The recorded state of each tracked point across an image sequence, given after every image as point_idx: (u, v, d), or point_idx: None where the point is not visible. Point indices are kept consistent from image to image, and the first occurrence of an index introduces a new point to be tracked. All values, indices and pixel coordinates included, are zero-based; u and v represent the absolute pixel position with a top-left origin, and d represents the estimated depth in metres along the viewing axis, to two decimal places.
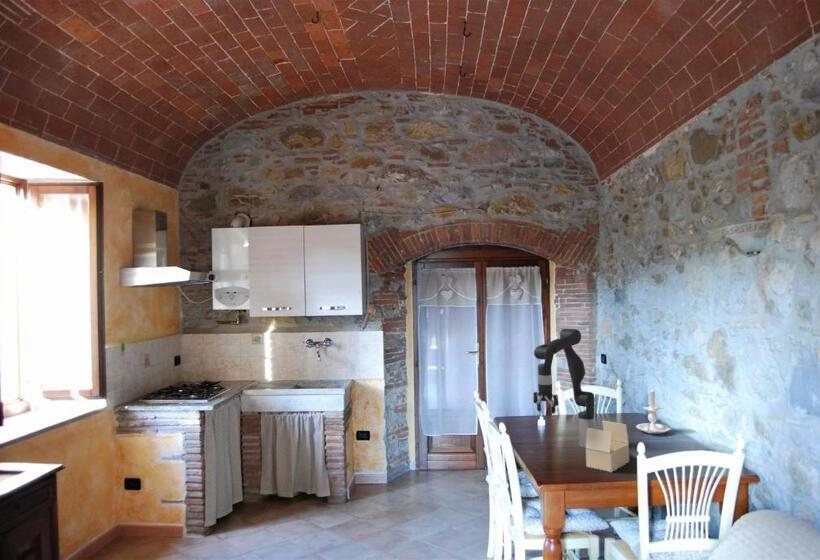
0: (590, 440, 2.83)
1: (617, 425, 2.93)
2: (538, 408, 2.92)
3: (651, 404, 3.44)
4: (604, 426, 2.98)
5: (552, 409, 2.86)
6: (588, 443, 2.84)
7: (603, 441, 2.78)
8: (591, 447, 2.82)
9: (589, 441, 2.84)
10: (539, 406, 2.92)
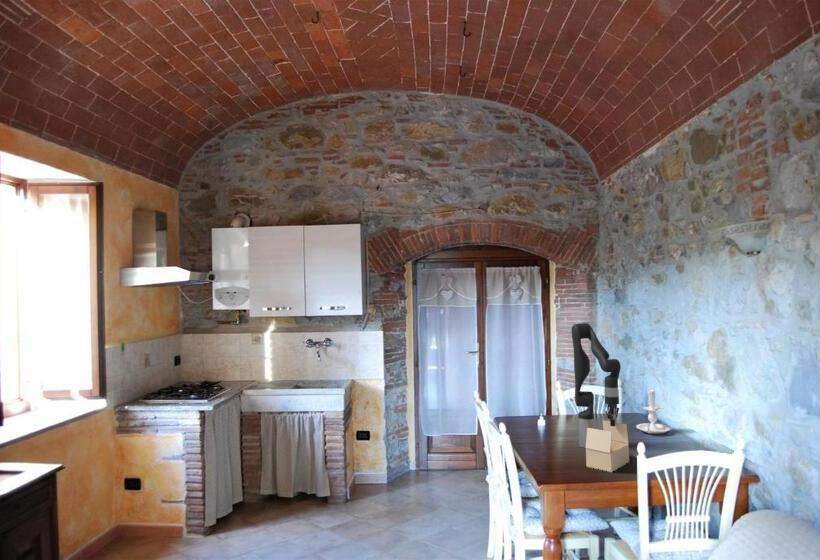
0: (590, 440, 2.83)
1: (617, 425, 2.93)
2: (614, 423, 2.92)
3: (651, 404, 3.44)
4: (604, 426, 2.98)
5: (614, 421, 2.93)
6: (588, 443, 2.84)
7: (603, 441, 2.78)
8: (591, 447, 2.82)
9: (589, 441, 2.84)
10: None
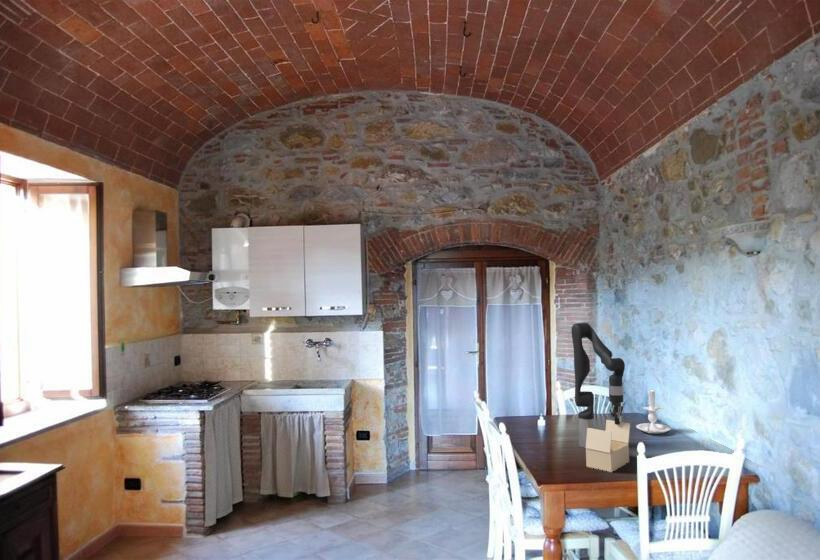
0: (590, 440, 2.83)
1: (621, 424, 2.96)
2: (618, 421, 2.96)
3: (651, 404, 3.44)
4: (607, 425, 3.01)
5: None
6: (588, 443, 2.84)
7: (603, 441, 2.78)
8: (591, 447, 2.82)
9: (589, 441, 2.84)
10: None
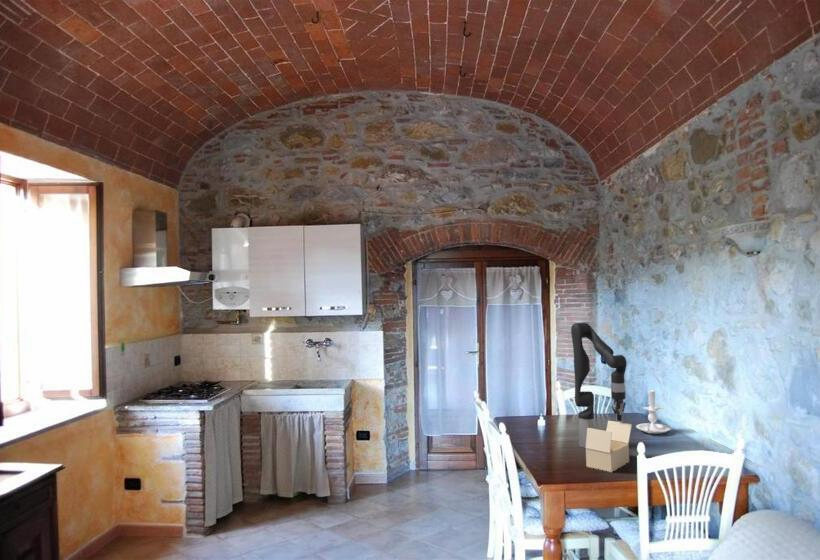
0: (590, 440, 2.83)
1: (622, 425, 2.97)
2: (621, 418, 2.98)
3: (651, 404, 3.44)
4: (609, 426, 3.02)
5: (621, 416, 2.98)
6: (588, 443, 2.84)
7: (603, 441, 2.78)
8: (591, 447, 2.82)
9: (589, 441, 2.84)
10: None
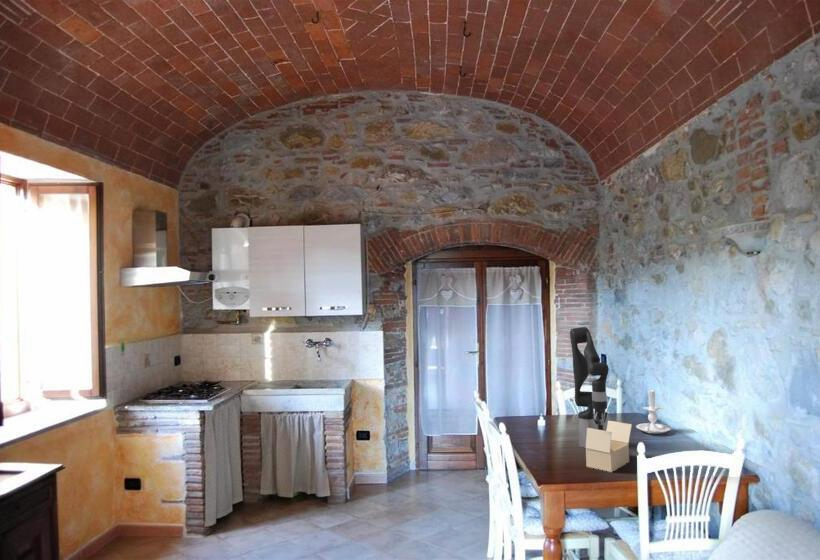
0: (590, 440, 2.83)
1: (622, 425, 2.97)
2: (602, 428, 2.82)
3: (651, 404, 3.44)
4: (609, 426, 3.02)
5: (602, 427, 2.82)
6: (588, 443, 2.84)
7: (603, 441, 2.78)
8: (591, 447, 2.82)
9: (589, 441, 2.84)
10: None
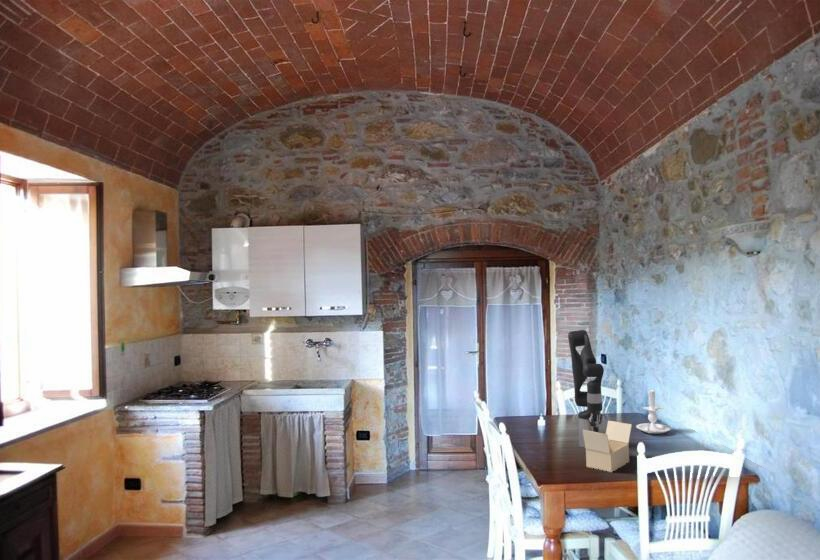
0: (589, 441, 2.82)
1: (622, 425, 2.97)
2: (597, 430, 2.78)
3: (651, 404, 3.44)
4: (609, 426, 3.02)
5: (598, 429, 2.79)
6: (587, 444, 2.83)
7: (600, 443, 2.77)
8: (591, 448, 2.82)
9: (587, 442, 2.82)
10: None
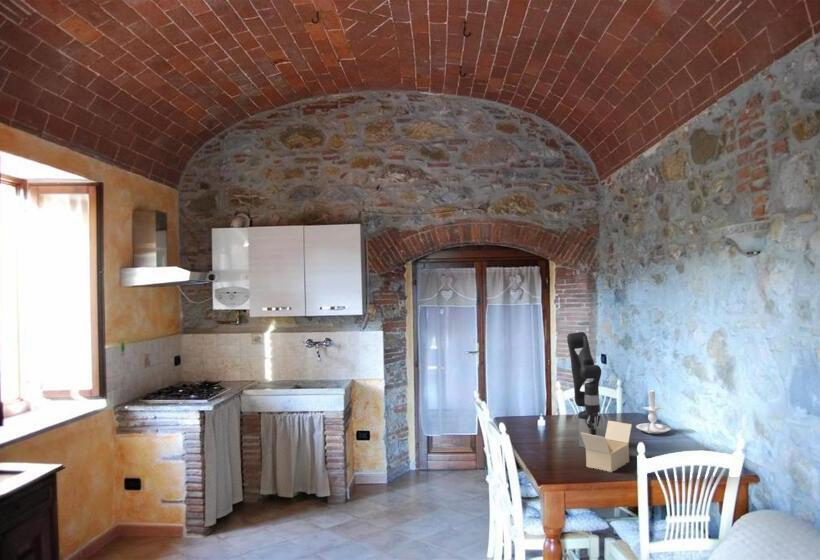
0: (588, 443, 2.81)
1: (622, 425, 2.97)
2: (595, 432, 2.76)
3: (651, 404, 3.44)
4: (609, 426, 3.02)
5: (595, 431, 2.77)
6: (586, 445, 2.83)
7: (600, 444, 2.76)
8: (591, 448, 2.82)
9: (587, 443, 2.82)
10: None
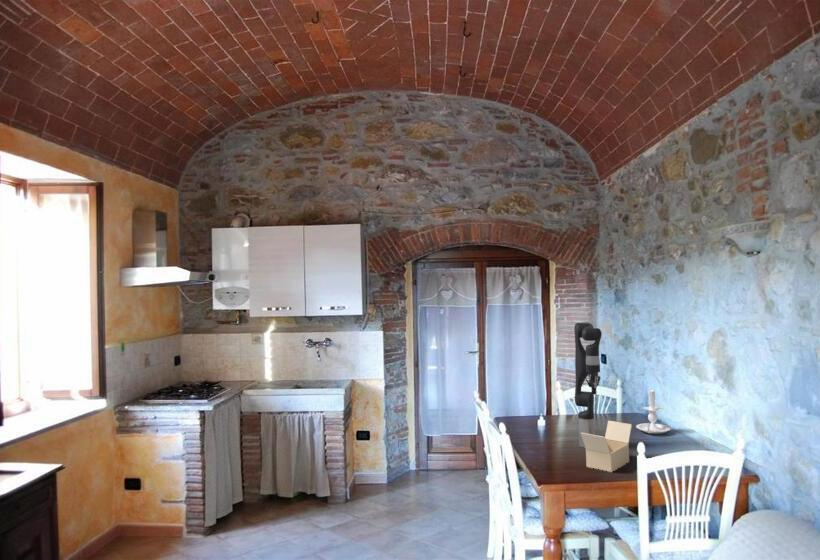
0: (588, 443, 2.81)
1: (622, 425, 2.97)
2: (595, 391, 2.95)
3: (651, 404, 3.44)
4: (609, 426, 3.02)
5: None
6: (586, 445, 2.83)
7: (600, 444, 2.76)
8: (591, 448, 2.82)
9: (587, 443, 2.82)
10: None
